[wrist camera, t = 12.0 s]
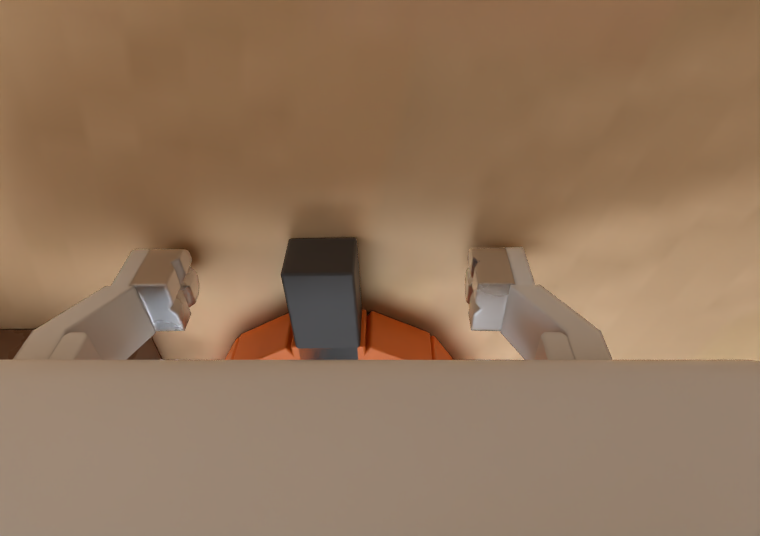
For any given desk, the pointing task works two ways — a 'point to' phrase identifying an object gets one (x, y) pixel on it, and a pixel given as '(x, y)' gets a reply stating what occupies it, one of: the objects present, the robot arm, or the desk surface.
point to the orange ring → (331, 314)
